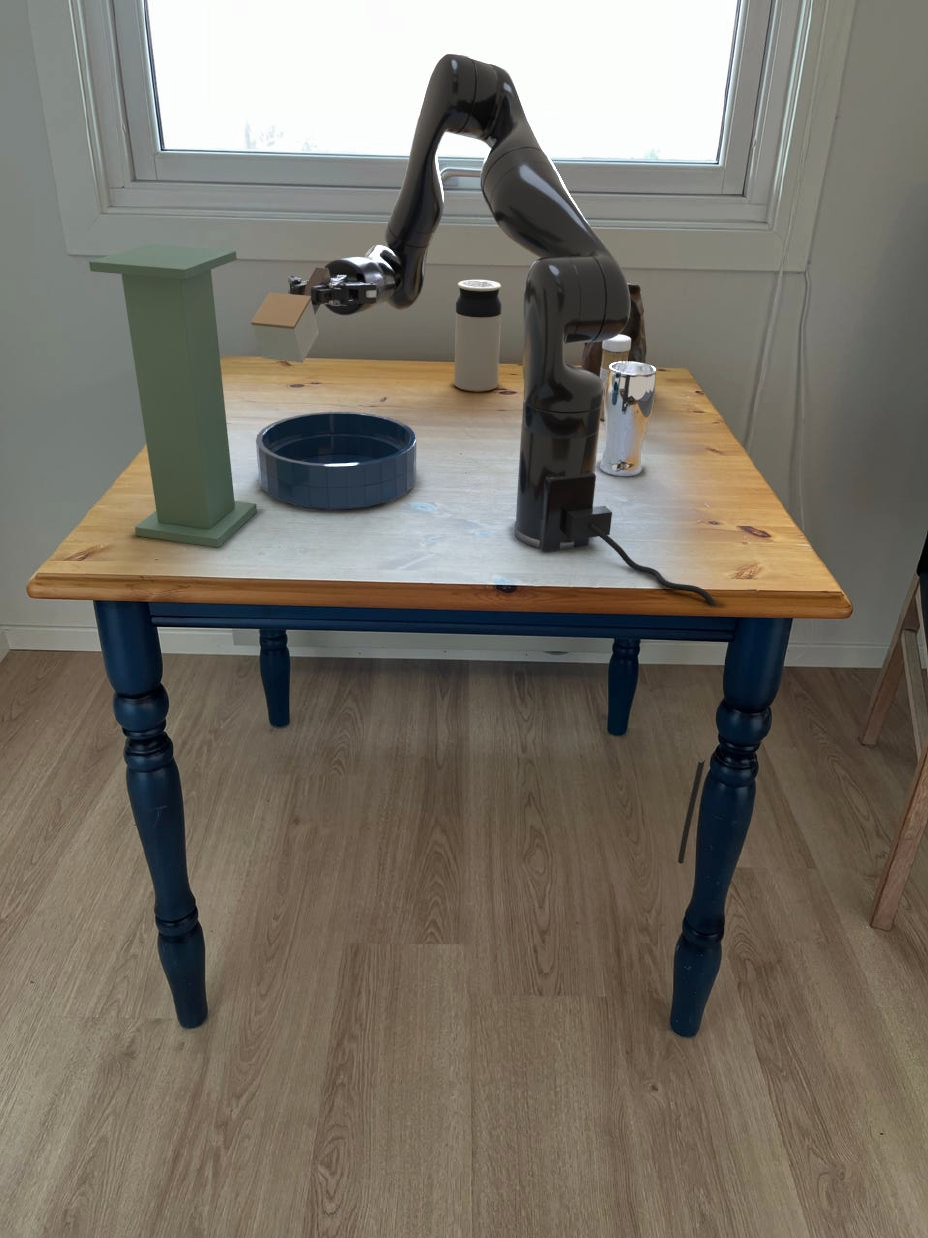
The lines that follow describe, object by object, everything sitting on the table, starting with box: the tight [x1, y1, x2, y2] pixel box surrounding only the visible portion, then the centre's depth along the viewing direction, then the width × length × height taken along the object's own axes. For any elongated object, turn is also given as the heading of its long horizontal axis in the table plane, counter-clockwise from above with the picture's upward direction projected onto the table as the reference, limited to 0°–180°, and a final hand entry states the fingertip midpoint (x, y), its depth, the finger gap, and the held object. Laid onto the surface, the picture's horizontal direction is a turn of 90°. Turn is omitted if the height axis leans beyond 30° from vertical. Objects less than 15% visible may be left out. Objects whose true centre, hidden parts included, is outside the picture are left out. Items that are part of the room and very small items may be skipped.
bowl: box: [255, 411, 417, 511], centre depth 131 cm, size 22×22×6 cm
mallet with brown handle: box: [250, 266, 331, 363], centre depth 121 cm, size 16×6×5 cm, turn 165°
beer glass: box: [599, 362, 657, 477], centre depth 136 cm, size 7×7×15 cm
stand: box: [88, 243, 258, 548], centre depth 111 cm, size 12×11×32 cm
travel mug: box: [453, 279, 503, 393], centre depth 169 cm, size 8×8×18 cm
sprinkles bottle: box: [600, 335, 631, 421], centre depth 157 cm, size 5×5×14 cm
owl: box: [580, 282, 648, 377], centre depth 167 cm, size 13×13×20 cm
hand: (305, 295), depth 121 cm, fingers closed on mallet with brown handle
